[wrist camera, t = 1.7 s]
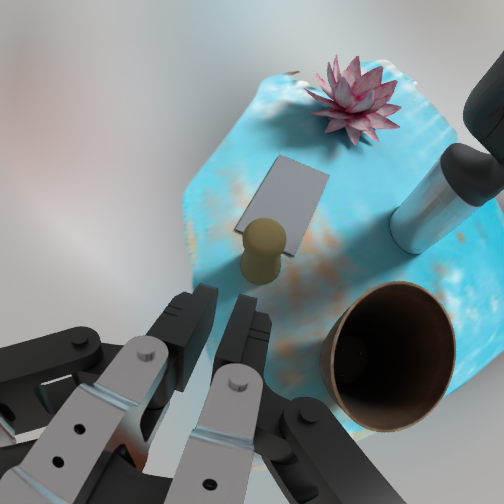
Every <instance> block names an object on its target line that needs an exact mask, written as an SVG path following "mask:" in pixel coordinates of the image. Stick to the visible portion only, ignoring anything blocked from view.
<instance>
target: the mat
mask: <svg viewBox="0 0 504 504" xmlns="http://www.w3.org/2000/svg"><path fill="white" fill-rule="evenodd" d="M329 176H330V175H328V174H325V173H323V172H321V171H319V170H316V169H314V168H312V167H309V166H307V165H304V164H302V163H300V162H297V161H295V160H292V159H290V158H287V157H285V156H282V155H279V157H278V159H277V160H276V162H275V163H274V165H273V167H272V168H271V170H270V172H269V173H268V175H267V177H266V178H265V180H264V182H263V183H262V185H261V187H260V188H259V190H258V192H257V193H256V195H255V197H254V198H253V200H252V202H251V203H250V205H249V207H248V208H247V210H246V212H245V213H244V215H243V217H242V219H241V220H240V222H239V224H238V225H237V227H236V230H237V231H239V232H242V233H244V230H245V229H246V227H247V226H248V224H249V223H251V222H252V221H253V220H256V219H259V218H270V219H273V220H275V221H277V222H278V223H279V224H280V225H281V226H282V227H283V228H284V230H285V233H286V238H287V242H286V246H285V249H284V250H283V252H285V253H287V254H290V255H292V256H295V253H296V251H297V249H298V247H299V245H300V243H301V240H302V238H303V236H304V234H305V231H306V229H307V227H308V225H309V222H310V220H311V218H312V216H313V213H314V211H315V209H316V206H317V204H318V202H319V200H320V197H321V195H322V192H323V190H324V188H325V185H326V183H327V181H328V178H329Z"/></svg>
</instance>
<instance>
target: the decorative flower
mask: <svg viewBox="0 0 504 504" xmlns="http://www.w3.org/2000/svg"><path fill="white" fill-rule="evenodd" d="M382 72H383V67H382V66H379V67H377V68H375V69H373V70H371V71H369V72H367V73H366V74H364V75H362V76H361V71H360V61H359V56H356V58H355V59H353V60H352V62H351V63H350V64H349V66H348V67H347V69H346V70H344V72H343V73H342V75H341V74H340V70H339V65H338V60H337V55H336V57H335V60H334V67H333V72H332V69H331V66H330V63H329V62H328V68H327V75H328V81H329V84H330V86H329V85H328V84H327V83H326V82H324V80H323V79H322V78H321V77H320V76H319V75H318V74H317V73H316V72H315V71H314V73H315V76H316V79H317V81H318V83H319V85H320V86H321V88H322V90H323V91H324V92H325V93H326V94H327V95H328V96H329V97H330V98H331V99H332V100H334V101H332V100H329V99H326V98H323V97H321V96H318V95H316V94H314V93H312V92H310V91H308V90H307V89H305V88H304V87H303V88H304V89H305V90H306V91H307V92H308V94H310V95H311V96H312V97H313V98H315V99H316V100H318V101H320V102H321V103H323V104H325V105H327V106H329V107H331V109H327V110H322V111H317V112H310V113H312V114H314V115H318V116H327V117H331V118H329V119H328V120H331V121H330V123H329V124H328V126H327V128H326V130H325V133H328V132H333V131H336V130H339V129H341V128H343V127H345V129H346V131H347V134H348V136H349V138H350V139H351V141H352V142H353V143H354V145H356V144H357V143H358V141H359V138H360V135H361V132H363V133H364V134H366V135H367V136H369V137H370V138H372V139H373V140H376V141H378V142H379V139H378V137H377V135H376V133H375V131H374V129H373V128H377V129H396V128H400V126H398V125H397V124H395V123H394V122H392V121H390V120H389V119H387V118H385V117H387V116H389V115H392V114H394V113H395V112H397V111H398V110H400V109H401V106H397V105H392V104H387V103H386V102H388V101H389V100H390V98H391V96H392V94H393V93H394V89H395V87H396V84H397V81H396V80H394V81H390V82H387V83H384V84H381V81H382Z"/></svg>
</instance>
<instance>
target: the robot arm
mask: <svg viewBox="0 0 504 504" xmlns="http://www.w3.org/2000/svg"><path fill="white" fill-rule="evenodd" d="M463 121H464V123H465V125H466V127H467V129H468V130H469V132H470V133H471V134H472V135H473V136H474V137H475V138H476V139H477V140H478V141H479V142H480V143H481V144H482V145H483V146H484V147H485V148H486V149H487V150H488V151H489V152H490V153H491V154H486V153H483V152H480V151H478V150H475V149H473V148H471V147H469V146H467V145H464V144H461V143H454V144H451V145H450V146H449V147H448V148H447V149H446V150H445V151H444V153H443V154H442V155H441V157H440V158H439V159H438V161H437V162H436V163H435V164H434V166H433V167H432V168H431V170H430V171H429V172H428V173H427V174H426V176H425V177H424V178H423V179H422V181H421V182H420V183H419V184H418V185H417V187H416V188H415V189H414V190H413V191H412V193H411V194H410V195H409V196H408V197H407V198H406V200H405V201H404V202H403V203H402V204H401V205H400V206H399V208H398V209H397V210H396V211H395V212H394V213H393V215H392V216H391V219H390V230H391V233H392V236H393V238H394V240H395V242H396V243H397V244H398V245H399V246H400V247H401V248H402V249H403V250H405V251H406V252H408V253H410V254H420V253H422V252H424V251H425V250H427V249H428V248H429V247H431V246H432V245H433V244H435V243H436V242H438V241H439V240H440V239H442V238H443V237H444V236H446V235H447V234H448V233H449V232H451V231H452V230H453V229H455V228H456V227H457V226H458V225H460V224H461V223H462V222H463V221H465V220H466V219H467V218H468V217H469V216H471V215H472V214H473V213H474V212H475V211H476V210H478V209H479V208H480V207H481V206H482V205H483V204H485V203H486V202H487V201H489V200H490V199H492V198H494V197H495V196H496V195H498V194H499V193H500V192H501V191H502V190H503V189H504V51H503V53H502V54H501V55H500V57H499V58H498V59H497V60H496V62H495V63H494V64H493V65H492V67H491V68H490V69H489V70H488V72H487V73H486V74H485V75H484V76H483V78H482V79H481V80H480V81H479V83H478V84H477V85H476V86H475V88H474V89H473V91H472V92H471V94H470V95H469V97H468V99H467V101H466V103H465V106H464V110H463ZM217 297H218V288H216V287H212V286H208V285H205V284H201V283H200V284H199V285H198V286H197V288H196V289H195V291H194V292H193V294H190V293H187V292H183V293H181V294H179V295H177V296H175V297H174V298H173V299H172V300H171V302H170V303H169V304H168V306H167V307H166V308H165V310H164V311H163V313H162V314H161V315H160V316H159V318H158V319H157V320H156V322H155V323H154V324H153V326H152V327H151V328H150V330H149V331H148V332H147V334H146V335H145V336H138V337H134V338H132V339H131V340H129V341H128V342H127V343H126V344H125V345H113V344H107V343H101V341H100V337H99V335H98V333H97V332H96V331H95V330H93V329H91V328H88V327H81V326H80V327H74V328H71V329H67V330H64V331H60V332H57V333H53V334H50V335H46V336H43V337H40V338H36V339H32V340H29V341H25V342H22V343H18V344H14V345H11V346H7V347H3V348H0V504H243V502H244V498H245V493H246V489H247V484H248V479H249V474H250V469H251V464H252V459H253V453H254V452H256V453H258V454H260V455H261V456H262V459H263V461H264V463H265V464H266V466H267V468H268V469H269V471H270V473H271V474H272V476H273V478H274V479H275V481H276V483H277V484H278V486H279V487H280V489H281V491H282V492H283V494H284V495H285V497H286V498H287V500H288V501H289V503H290V504H407V503H406V502H405V501H404V500H403V499H402V498H401V497H400V495H399V494H398V493H397V492H396V491H395V490H394V489H393V487H392V486H391V485H390V484H389V483H388V481H387V480H386V479H385V478H384V477H383V476H382V474H381V473H380V472H379V471H378V470H377V468H376V467H375V466H374V465H373V464H372V462H371V461H370V460H369V459H368V457H367V456H366V455H365V454H364V453H363V451H362V450H361V449H360V448H359V446H358V445H357V444H356V443H355V441H354V440H353V439H352V438H351V436H350V435H349V434H348V433H347V431H346V430H345V429H344V428H343V426H342V425H341V424H340V423H339V421H338V420H337V419H336V417H335V416H334V415H333V414H332V412H331V411H330V410H329V408H328V407H327V406H326V405H325V404H324V403H322V402H321V401H319V400H317V399H314V398H310V397H299V398H295V399H293V400H292V401H290V400H288V399H286V398H283V397H281V396H279V395H278V394H276V393H274V392H273V391H272V390H271V389H270V388H269V387H268V386H267V385H266V383H265V381H264V377H263V371H264V366H265V360H266V355H267V349H268V344H269V338H270V332H271V326H272V323H271V320H270V318H269V316H268V314H265V313H261V312H257V311H255V308H256V304H257V299H258V298H254V297H250V296H246V295H242V294H239V296H238V299H237V301H236V304H235V306H234V309H233V312H232V314H231V317H230V319H229V322H228V324H227V327H226V329H225V332H224V334H223V337H222V339H221V342H220V345H219V347H218V350H217V352H216V355H215V358H214V364H213V371H212V377H211V384H210V390H209V392H208V395H207V398H206V400H205V403H204V406H203V409H202V411H201V414H200V417H199V420H198V423H197V425H196V427H195V429H193V430H192V432H191V434H190V436H189V438H188V441H187V444H186V446H185V449H184V452H183V454H182V457H181V460H180V463H179V465H178V468H177V470H176V473H175V475H174V478H166V477H160V476H153V475H148V474H144V473H142V471H143V469H144V467H145V464H146V462H147V458H148V452H149V448H150V445H151V443H152V441H153V439H154V437H155V434H156V432H157V430H158V428H159V426H160V424H161V422H162V420H163V418H164V416H165V414H166V412H167V410H168V408H169V405H170V399H171V397H172V395H173V393H174V390H177V391H180V392H183V391H184V389H185V387H186V385H187V382H188V380H189V378H190V376H191V374H192V372H193V369H194V367H195V365H196V363H197V360H198V358H199V356H200V354H201V352H202V350H203V348H204V345H205V343H206V341H207V339H208V337H209V335H210V332H211V329H212V326H213V322H214V317H215V310H216V303H217ZM70 374H71V375H72V377H68V378H65V379H63V380H59V381H56V382H53V383H50V384H46V385H41V383H44V382H48V381H51V380H54V379H57V378H60V377H63V376H66V375H70ZM45 426H47V427H46V429H45V430H44V431H43V433H42V434H41V436H40V437H39V438H38V439H35V440H31V441H27V442H23V443H18V444H16V439H15V435H17V434H21V433H25V432H28V431H32V430H35V429H39V428H42V427H45Z"/></svg>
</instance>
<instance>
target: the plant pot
mask: <svg viewBox="0 0 504 504" xmlns="http://www.w3.org/2000/svg"><path fill="white" fill-rule="evenodd" d="M336 347H337V349H336V350H335V348H336ZM360 352H362V356H360ZM455 360H456V340H455V334H454V329H453V326H452V323H451V320H450V318H449V315H448V313H447V312H446V310H445V308H444V307H443V305H442V304H441V302H440V301H439V300H438V299H437V298H436V297H435V296H434V295H433V294H432V293H431V292H429V291H428V290H426V289H425V288H423V287H421V286H419V285H416V284H414V283H410V282H405V281H393V282H387V283H383V284H380V285H378V286H375V287H373V288H372V289H370V290H368V291H367V292H365V293H364V294H363V295H362V296H360V297H359V298H358V299H357V300H356V301H355V302H354V303H353V304H352V305H351V306H350V307H349V308H348V309H347V310H346V311H345V312H344V314H343V315H342V316H341V317H340V318H339V319H338V321H337V322H336V323H335V325H334V326H333V327H332V329H331V330H330V332H329V334H328V336H327V337H326V340H325V342H324V344H323V347H322V350H321V355H320V370H321V375H322V378H323V381H324V383H325V386H326V388H327V389H328V391H329V393H330V395H331V396H332V398H333V399H334V400H335V402H336V403H337V404H338V405H339V406H340V408H341V409H342V410H343V411H344V412H345V413H346V414H347V415H348V416H349V417H350V418H351V419H352V420H353V421H354V422H356V423H357V424H359V425H360V426H362V427H364V428H366V429H369V430H372V431H376V432H395V431H399V430H403V429H406V428H408V427H410V426H413V425H414V424H416V423H418V422H419V421H421V420H422V419H424V418H425V417H426V416H427V415H428V414H429V413H430V412H431V411H432V410H433V409H434V408H435V407H436V406H437V404H438V403H439V402H440V400H441V399H442V397H443V396H444V394H445V392H446V390H447V388H448V386H449V383H450V381H451V378H452V375H453V371H454V366H455ZM340 375H343V377H340Z"/></svg>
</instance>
